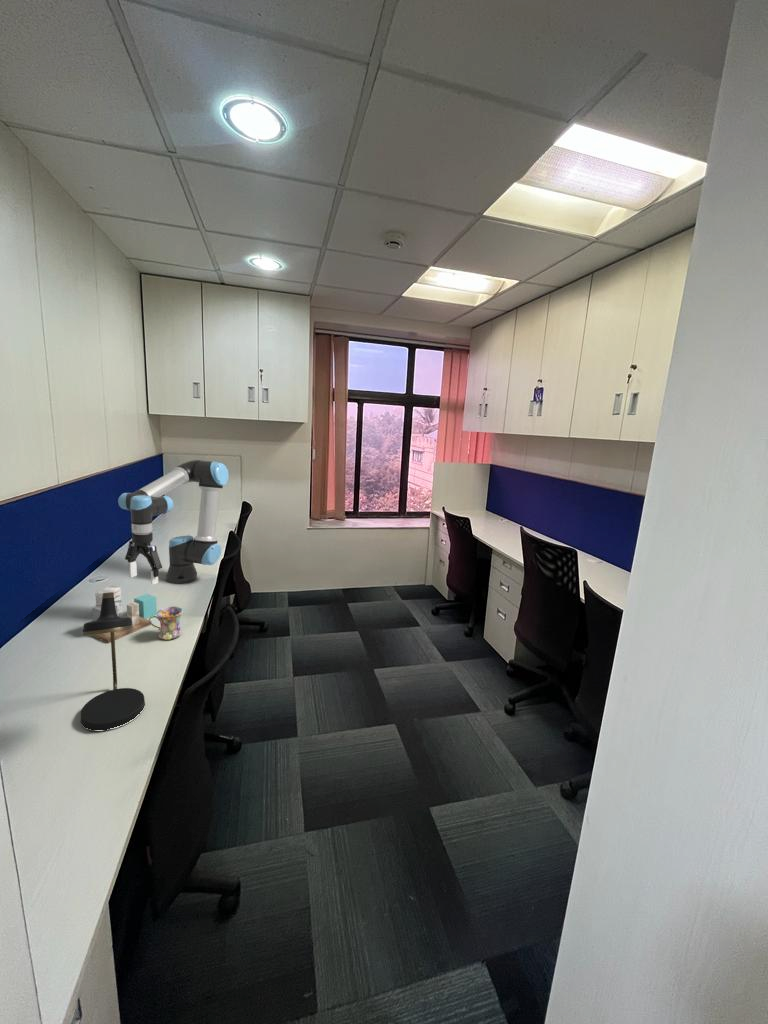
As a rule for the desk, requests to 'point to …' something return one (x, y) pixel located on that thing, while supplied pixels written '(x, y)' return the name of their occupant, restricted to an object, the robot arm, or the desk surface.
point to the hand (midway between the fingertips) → (143, 579)
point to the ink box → (116, 596)
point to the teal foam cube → (146, 605)
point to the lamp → (117, 702)
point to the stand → (131, 612)
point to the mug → (169, 622)
